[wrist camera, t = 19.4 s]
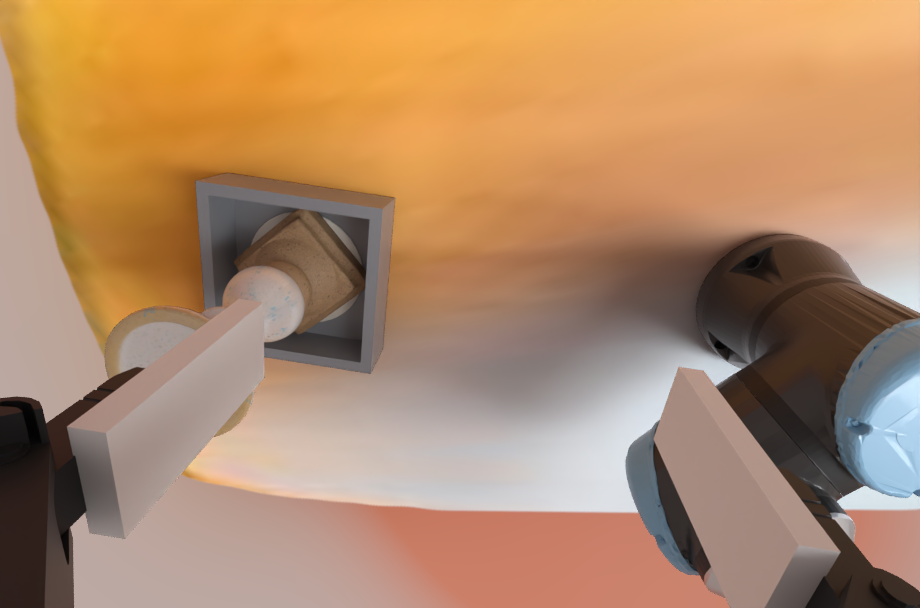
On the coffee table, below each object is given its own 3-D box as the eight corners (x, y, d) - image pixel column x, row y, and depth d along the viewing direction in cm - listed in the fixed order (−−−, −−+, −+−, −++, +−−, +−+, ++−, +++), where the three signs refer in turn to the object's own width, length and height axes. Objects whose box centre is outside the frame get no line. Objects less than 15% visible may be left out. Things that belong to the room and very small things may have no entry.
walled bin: (395, 197, 53) (382, 208, 47) (382, 348, 60) (370, 373, 54) (227, 172, 53) (195, 180, 47) (234, 325, 60) (207, 348, 54)
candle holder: (238, 257, 55) (63, 358, 33) (308, 200, 52) (167, 271, 30) (304, 330, 58) (183, 469, 36) (374, 280, 55) (289, 399, 33)
